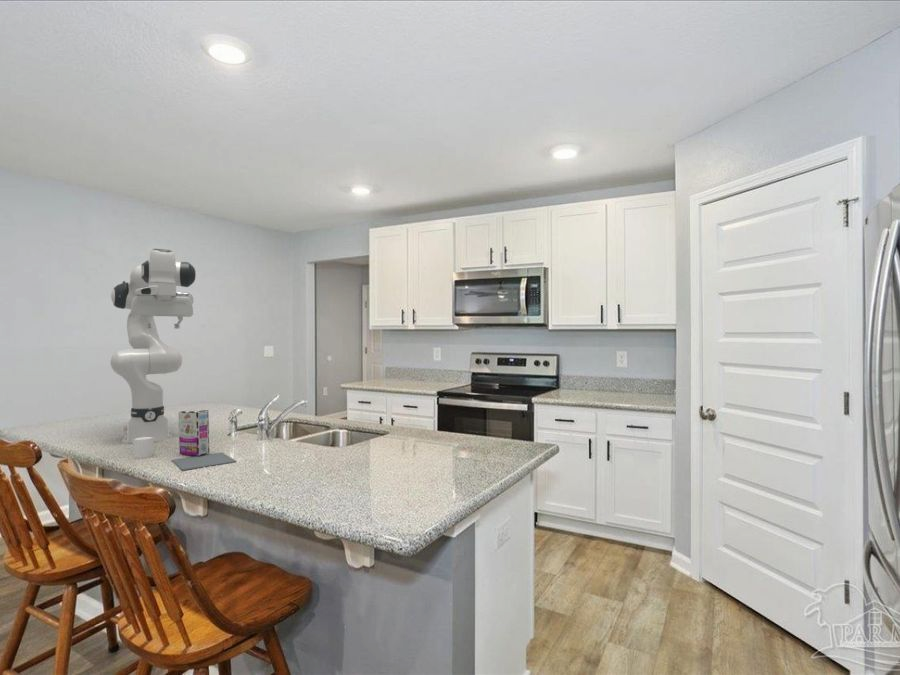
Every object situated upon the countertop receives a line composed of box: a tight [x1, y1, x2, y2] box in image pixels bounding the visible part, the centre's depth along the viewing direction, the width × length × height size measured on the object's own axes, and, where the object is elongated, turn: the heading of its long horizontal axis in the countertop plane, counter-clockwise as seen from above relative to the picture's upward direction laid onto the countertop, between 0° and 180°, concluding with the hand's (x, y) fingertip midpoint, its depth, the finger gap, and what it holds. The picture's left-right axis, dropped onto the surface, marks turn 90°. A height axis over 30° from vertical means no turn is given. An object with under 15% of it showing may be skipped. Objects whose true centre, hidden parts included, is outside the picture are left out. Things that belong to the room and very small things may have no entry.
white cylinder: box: [132, 437, 155, 459], centre depth 180 cm, size 7×7×7 cm
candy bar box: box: [178, 409, 210, 457], centre depth 183 cm, size 11×5×16 cm, turn 62°
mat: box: [171, 452, 237, 472], centre depth 173 cm, size 17×17×1 cm
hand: (162, 328), depth 184 cm, fingers open, 8 cm apart
